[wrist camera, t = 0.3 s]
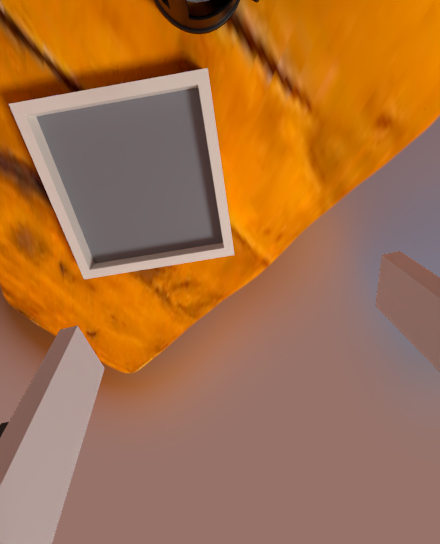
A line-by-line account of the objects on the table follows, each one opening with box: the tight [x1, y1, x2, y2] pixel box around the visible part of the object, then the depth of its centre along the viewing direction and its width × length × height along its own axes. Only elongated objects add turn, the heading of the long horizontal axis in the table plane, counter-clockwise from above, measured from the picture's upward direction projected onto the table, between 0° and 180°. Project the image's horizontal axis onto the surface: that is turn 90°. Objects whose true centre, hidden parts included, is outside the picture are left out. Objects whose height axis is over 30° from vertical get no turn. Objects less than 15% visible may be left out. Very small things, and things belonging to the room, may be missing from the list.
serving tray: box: [9, 68, 234, 279], centre depth 34 cm, size 20×20×3 cm
